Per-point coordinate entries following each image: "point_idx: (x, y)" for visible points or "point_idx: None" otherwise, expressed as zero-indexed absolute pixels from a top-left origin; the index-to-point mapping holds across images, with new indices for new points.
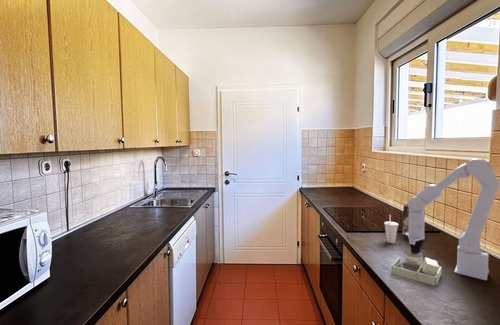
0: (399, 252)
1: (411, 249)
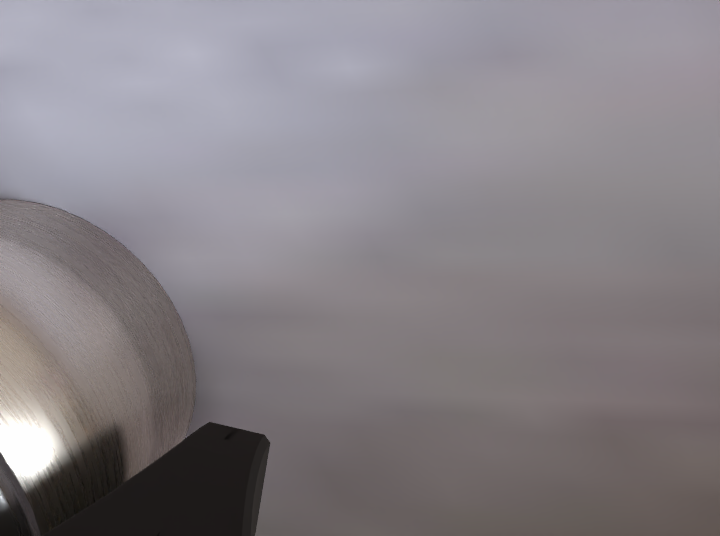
0: (659, 53)
1: (56, 526)
